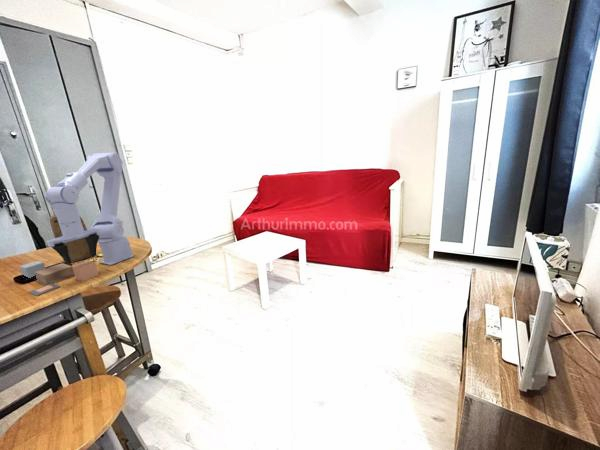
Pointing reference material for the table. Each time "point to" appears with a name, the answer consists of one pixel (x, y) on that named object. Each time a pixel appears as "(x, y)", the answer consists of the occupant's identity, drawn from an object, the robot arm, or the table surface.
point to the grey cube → (31, 268)
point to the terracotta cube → (85, 270)
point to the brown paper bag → (72, 242)
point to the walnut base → (54, 274)
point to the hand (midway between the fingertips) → (81, 259)
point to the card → (44, 289)
